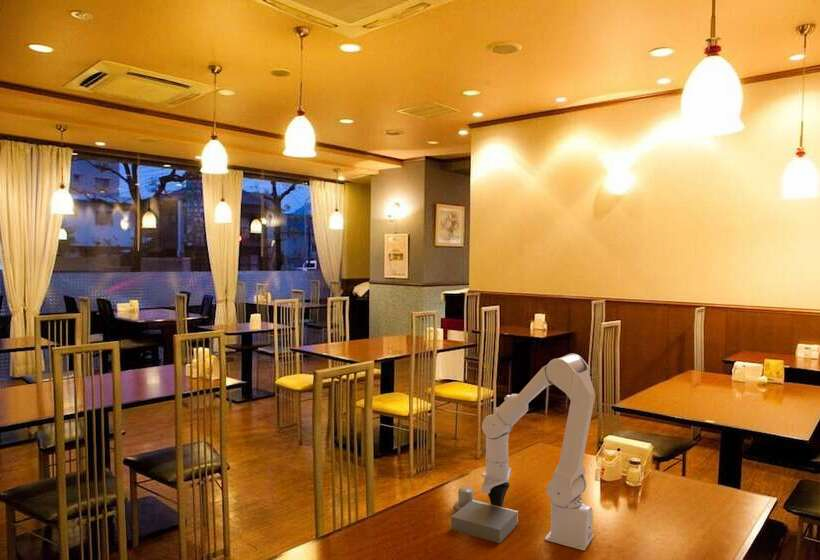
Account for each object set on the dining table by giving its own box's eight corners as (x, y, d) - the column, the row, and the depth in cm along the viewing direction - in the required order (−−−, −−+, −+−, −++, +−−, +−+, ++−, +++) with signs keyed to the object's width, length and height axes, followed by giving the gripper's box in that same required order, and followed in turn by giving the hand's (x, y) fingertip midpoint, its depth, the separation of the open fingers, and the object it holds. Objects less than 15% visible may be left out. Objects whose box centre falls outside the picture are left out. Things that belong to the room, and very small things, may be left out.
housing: (517, 525, 145) (517, 511, 145) (499, 543, 136) (499, 529, 136) (470, 512, 152) (470, 500, 152) (451, 529, 143) (451, 516, 143)
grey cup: (480, 505, 157) (480, 488, 157) (470, 513, 152) (470, 496, 152) (460, 500, 160) (460, 484, 160) (450, 508, 155) (450, 491, 155)
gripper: (494, 448, 158) (494, 497, 159) (470, 465, 146) (470, 517, 147) (518, 453, 154) (518, 503, 155) (496, 470, 142) (496, 524, 143)
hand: (496, 510), depth 151 cm, fingers closed
